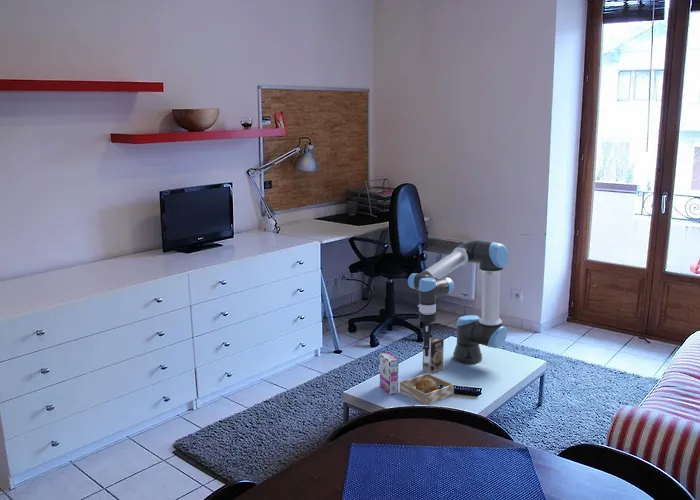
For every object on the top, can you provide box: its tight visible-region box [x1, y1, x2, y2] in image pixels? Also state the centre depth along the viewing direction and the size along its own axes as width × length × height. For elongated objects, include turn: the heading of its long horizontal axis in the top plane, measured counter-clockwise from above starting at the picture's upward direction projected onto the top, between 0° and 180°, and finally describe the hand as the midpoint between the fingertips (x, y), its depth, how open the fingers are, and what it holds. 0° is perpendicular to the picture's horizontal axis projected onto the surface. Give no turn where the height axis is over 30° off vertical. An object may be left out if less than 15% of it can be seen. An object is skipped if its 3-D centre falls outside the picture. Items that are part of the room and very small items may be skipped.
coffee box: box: [422, 336, 445, 375], centre depth 312 cm, size 9×6×16 cm
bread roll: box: [416, 378, 437, 394], centre depth 285 cm, size 10×10×8 cm
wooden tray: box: [399, 372, 455, 406], centre depth 285 cm, size 18×18×5 cm
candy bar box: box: [379, 352, 399, 396], centre depth 289 cm, size 11×5×16 cm, turn 21°
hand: (427, 356), depth 282 cm, fingers open, 13 cm apart
